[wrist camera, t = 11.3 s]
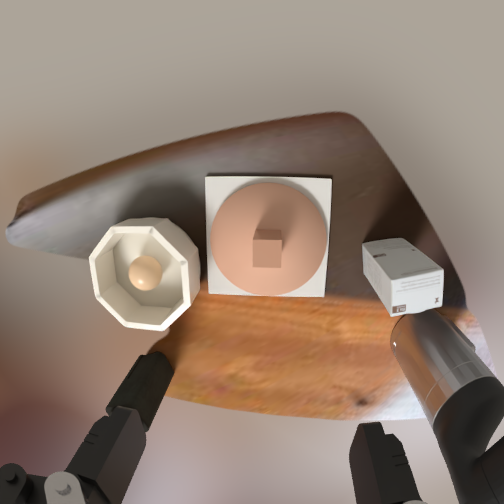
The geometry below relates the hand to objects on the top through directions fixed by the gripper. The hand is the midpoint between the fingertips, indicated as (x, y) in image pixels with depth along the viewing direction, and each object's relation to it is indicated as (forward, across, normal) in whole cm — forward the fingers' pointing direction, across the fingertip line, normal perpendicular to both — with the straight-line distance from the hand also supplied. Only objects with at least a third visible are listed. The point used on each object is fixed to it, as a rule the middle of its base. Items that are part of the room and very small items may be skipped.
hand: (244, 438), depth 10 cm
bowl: (+30, +15, +4) cm, 34 cm away
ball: (+27, +15, +4) cm, 31 cm away
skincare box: (+30, -15, +2) cm, 34 cm away
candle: (+30, +17, +21) cm, 40 cm away
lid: (+30, 0, 0) cm, 30 cm away
